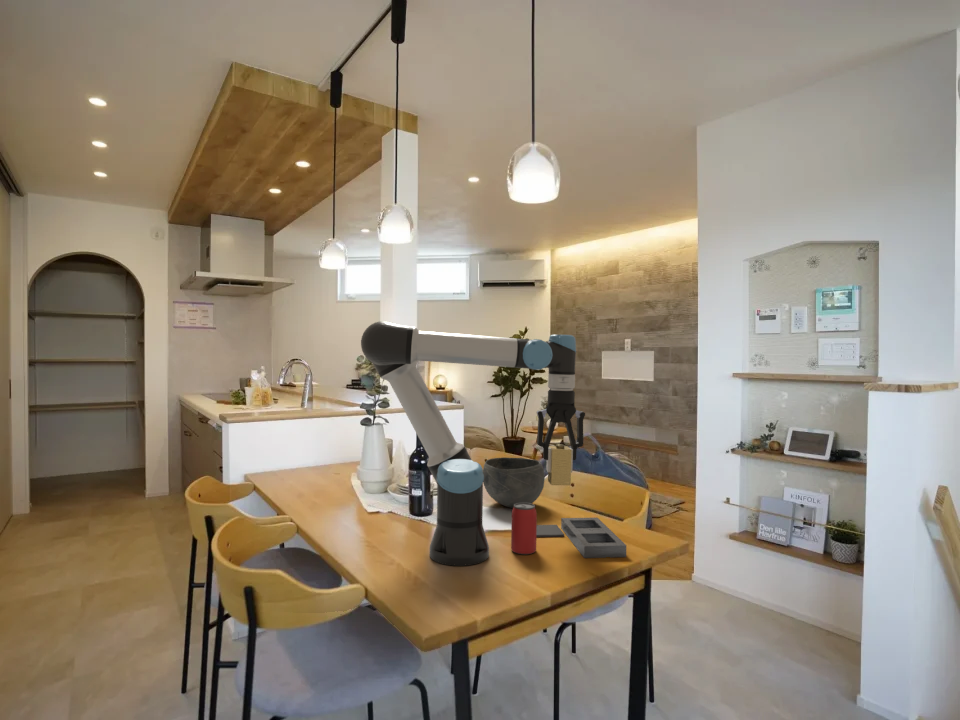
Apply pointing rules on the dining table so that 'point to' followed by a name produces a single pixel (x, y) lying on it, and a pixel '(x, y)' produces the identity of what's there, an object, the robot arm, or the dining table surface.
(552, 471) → the tall wooden peg block
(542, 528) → the mat
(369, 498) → the dining table surface
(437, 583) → the dining table surface
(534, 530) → the beer can
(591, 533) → the tray
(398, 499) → the dining table surface
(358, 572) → the dining table surface
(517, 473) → the bowl
